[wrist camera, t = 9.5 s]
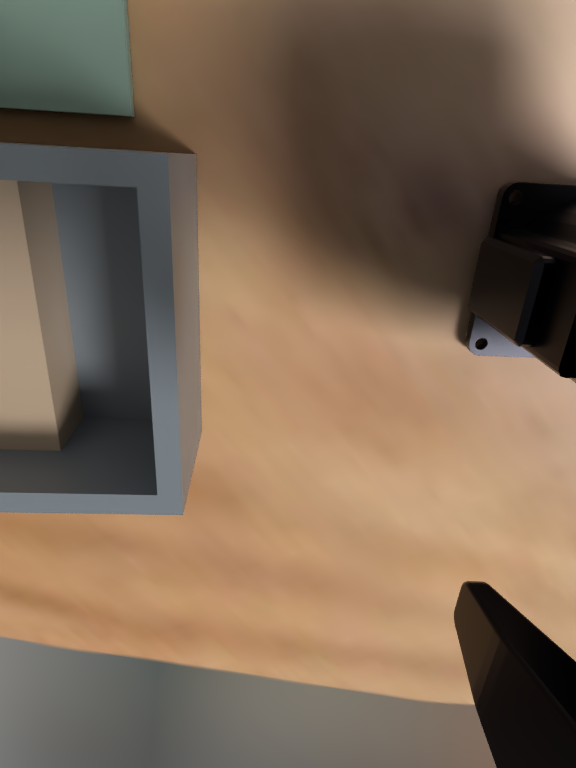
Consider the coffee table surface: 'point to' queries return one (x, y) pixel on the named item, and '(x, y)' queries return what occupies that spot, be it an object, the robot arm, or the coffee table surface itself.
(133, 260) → the slot box
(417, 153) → the coffee table surface
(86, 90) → the board
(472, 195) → the coffee table surface
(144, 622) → the coffee table surface
